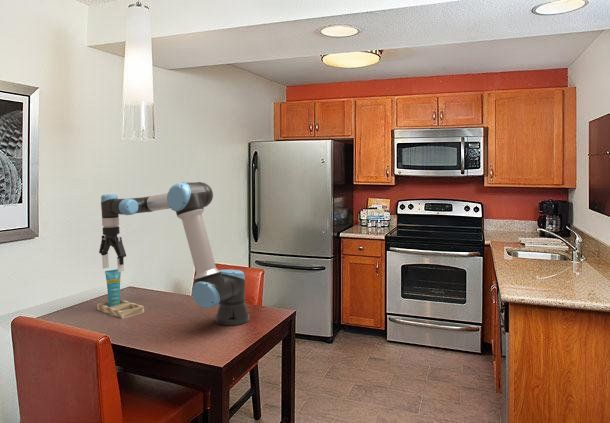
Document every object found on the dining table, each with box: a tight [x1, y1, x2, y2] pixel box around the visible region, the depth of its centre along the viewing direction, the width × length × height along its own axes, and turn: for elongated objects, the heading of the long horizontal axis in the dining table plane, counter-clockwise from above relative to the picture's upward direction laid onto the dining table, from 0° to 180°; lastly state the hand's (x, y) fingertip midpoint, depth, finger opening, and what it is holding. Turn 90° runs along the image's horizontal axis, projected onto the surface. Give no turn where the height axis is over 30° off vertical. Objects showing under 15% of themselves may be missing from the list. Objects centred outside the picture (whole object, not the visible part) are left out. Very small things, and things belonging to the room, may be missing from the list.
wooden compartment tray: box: [96, 298, 145, 320], centre depth 226 cm, size 22×12×3 cm, turn 52°
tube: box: [104, 268, 122, 307], centre depth 229 cm, size 7×5×19 cm, turn 134°
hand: (113, 269), depth 227 cm, fingers open, 13 cm apart
